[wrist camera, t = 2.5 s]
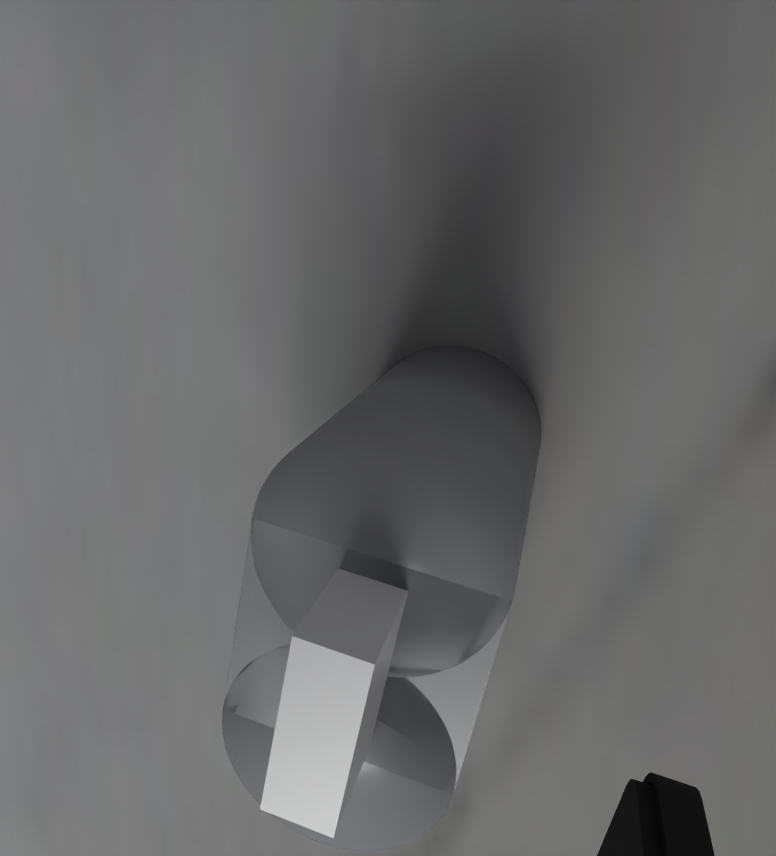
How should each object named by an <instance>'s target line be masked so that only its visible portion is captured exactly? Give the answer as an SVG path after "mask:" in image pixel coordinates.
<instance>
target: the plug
mask: <svg viewBox="0 0 776 856" xmlns="http://www.w3.org/2000/svg"><path fill="white" fill-rule="evenodd" d="M540 440H541V428H540V420H539V415H538V411H537V408H536V405H535V402H534V400H533V398H532V396H531V394H530V392H529V390H528V389H527V387H526V386H525V385H524V383H523V382H522V380H521V379H520V378H519V377H518V376H517V375H516V374H515V373H514V372H513V371H512V370H511V369H510V368H509V367H507V366H506V365H505V364H504V363H502V362H501V361H499V360H497V359H496V358H494V357H492V356H490V355H488V354H486V353H484V352H481V351H478V350H475V349H471V348H466V347H460V346H441V347H434V348H429V349H425V350H422V351H419V352H417V353H414V354H412V355H410V356H409V357H407V358H405V359H403V360H402V361H401V362H399V363H398V364H396V365H395V366H394V367H393V368H392V369H390V370H389V371H388V372H387V373H385V374H384V375H383V376H382V377H381V378H379V379H378V380H377V381H376V382H375V383H373V384H372V385H371V386H370V387H368V388H367V389H366V390H365V391H364V392H362V393H361V394H360V395H359V396H357V397H356V398H355V399H354V400H353V401H351V402H350V403H349V404H348V405H347V406H345V407H344V408H343V409H342V410H340V411H339V412H338V413H337V414H336V415H334V416H333V417H332V418H331V419H330V420H328V421H327V422H326V423H325V424H323V425H322V426H321V427H320V428H319V429H317V430H316V431H315V432H314V433H313V434H311V435H310V436H309V437H308V438H306V439H305V440H304V441H303V442H302V443H300V444H299V445H298V446H297V447H295V448H294V449H293V450H292V451H291V452H289V453H288V454H287V455H286V456H285V457H284V458H283V459H282V460H281V461H280V462H279V463H278V464H277V465H276V467H275V468H274V469H273V470H272V472H271V473H270V474H269V476H268V477H267V479H266V481H265V483H264V485H263V486H262V488H261V490H260V493H259V495H258V498H257V501H256V503H255V508H254V512H253V517H252V522H251V529H250V535H249V542H248V548H247V555H246V562H245V568H244V575H243V581H242V588H241V594H240V601H239V607H238V614H237V621H236V627H235V634H234V640H233V647H232V653H231V660H230V667H229V673H228V680H227V686H226V693H225V699H224V706H223V716H222V729H223V737H224V742H225V747H226V750H227V753H228V756H229V759H230V761H231V763H232V766H233V768H234V770H235V772H236V774H237V775H238V777H239V778H240V780H241V782H242V783H243V785H244V786H245V787H246V789H247V790H248V791H249V793H250V794H251V795H252V796H253V798H254V799H255V800H256V801H257V802H258V803H259V804H260V805H261V807H260V809H261V810H263V811H266V812H268V813H270V814H271V815H272V816H273V817H275V818H276V819H277V820H279V821H280V822H282V823H283V824H284V825H286V826H287V827H289V828H291V829H293V830H294V831H296V832H298V833H300V834H301V835H304V836H306V837H308V838H310V839H312V840H315V841H318V842H321V843H324V844H326V845H330V846H334V847H338V848H342V849H350V850H357V851H375V850H385V849H390V848H394V847H398V846H401V845H404V844H407V843H409V842H412V841H414V840H415V839H417V838H419V837H421V836H422V835H424V834H425V833H426V832H428V831H429V830H430V829H431V828H433V827H434V826H435V824H436V823H437V822H438V821H439V820H440V819H441V818H442V816H443V815H444V813H445V811H446V810H447V808H448V806H449V804H450V801H451V799H452V796H453V794H454V790H455V787H456V784H457V781H458V777H459V774H460V771H461V767H462V764H463V761H464V758H465V754H466V751H467V748H468V745H469V741H470V738H471V735H472V731H473V728H474V725H475V722H476V718H477V715H478V712H479V708H480V705H481V702H482V699H483V695H484V692H485V689H486V686H487V682H488V679H489V676H490V672H491V669H492V666H493V663H494V659H495V656H496V653H497V650H498V646H499V643H500V640H501V636H502V633H503V630H504V627H505V623H506V620H507V617H508V613H509V610H510V607H511V604H512V600H513V596H514V591H515V587H516V582H517V576H518V570H519V564H520V559H521V553H522V547H523V541H524V535H525V530H526V524H527V518H528V512H529V507H530V501H531V495H532V489H533V484H534V478H535V472H536V466H537V461H538V455H539V449H540Z"/></svg>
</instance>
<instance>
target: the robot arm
mask: <svg viewBox="0 0 776 856" xmlns="http://www.w3.org/2000/svg"><path fill="white" fill-rule="evenodd" d="M597 856H714V851H713V847H712V842H711V838H710V833H709V829H708V824H707V820H706V815H705V811H704V806H703V802H702V798H701V795H700V792H699V790H698V789H697V788H696V787H693V786H690V785H687V784H684V783H681V782H678V781H675V780H672V779H669V778H666V777H663V776H660V775H657V774H654V773H649V774H648V775H647V776H646V777H645V779H644V781H643V782H640V781H637V780H634V779H631V780H630V781H629V782H628V784H627V786H626V788H625V790H624V793H623V795H622V797H621V800H620V802H619V804H618V807H617V809H616V812H615V814H614V816H613V819H612V821H611V824H610V826H609V828H608V831H607V833H606V836H605V838H604V840H603V843H602V845H601V848H600V850H599V852H598V855H597Z"/></svg>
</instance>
